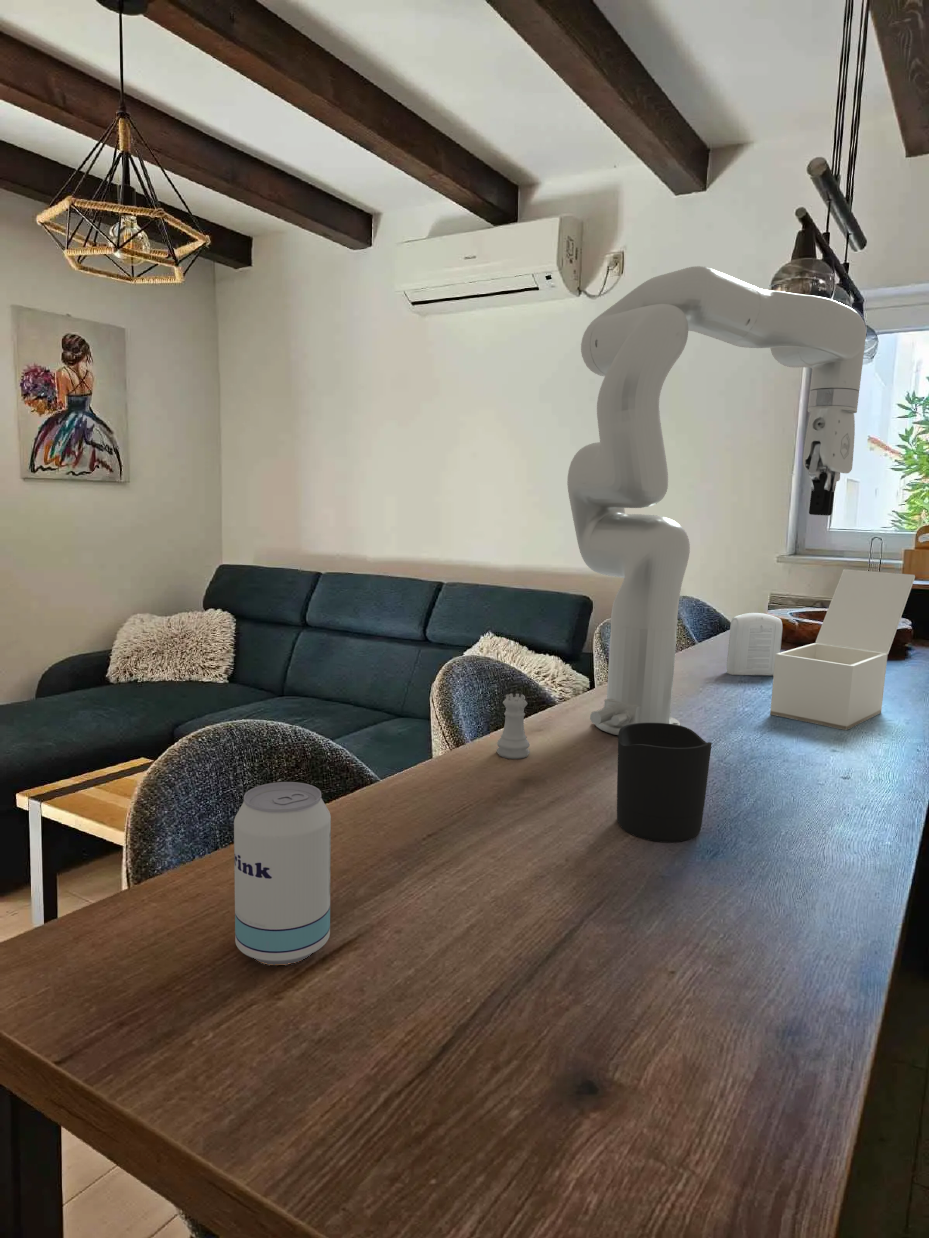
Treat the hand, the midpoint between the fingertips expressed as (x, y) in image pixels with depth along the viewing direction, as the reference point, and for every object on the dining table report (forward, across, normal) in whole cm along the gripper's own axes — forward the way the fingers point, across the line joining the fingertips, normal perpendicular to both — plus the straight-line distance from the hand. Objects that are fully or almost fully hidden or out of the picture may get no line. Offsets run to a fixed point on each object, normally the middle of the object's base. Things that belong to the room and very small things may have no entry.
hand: (820, 514), depth 141 cm
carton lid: (+15, +9, -6) cm, 19 cm away
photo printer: (+32, +16, +16) cm, 39 cm away
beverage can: (+36, -109, -6) cm, 115 cm away
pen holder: (+35, -67, -13) cm, 77 cm away
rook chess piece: (+34, -60, +13) cm, 71 cm away
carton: (+32, -4, -6) cm, 33 cm away
